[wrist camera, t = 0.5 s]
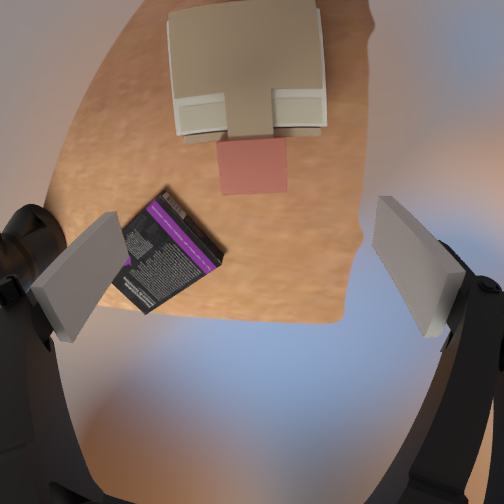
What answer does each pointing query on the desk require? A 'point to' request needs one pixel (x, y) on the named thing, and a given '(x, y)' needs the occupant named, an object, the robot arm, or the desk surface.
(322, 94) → the carton
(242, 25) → the flap
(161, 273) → the box
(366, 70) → the desk surface
